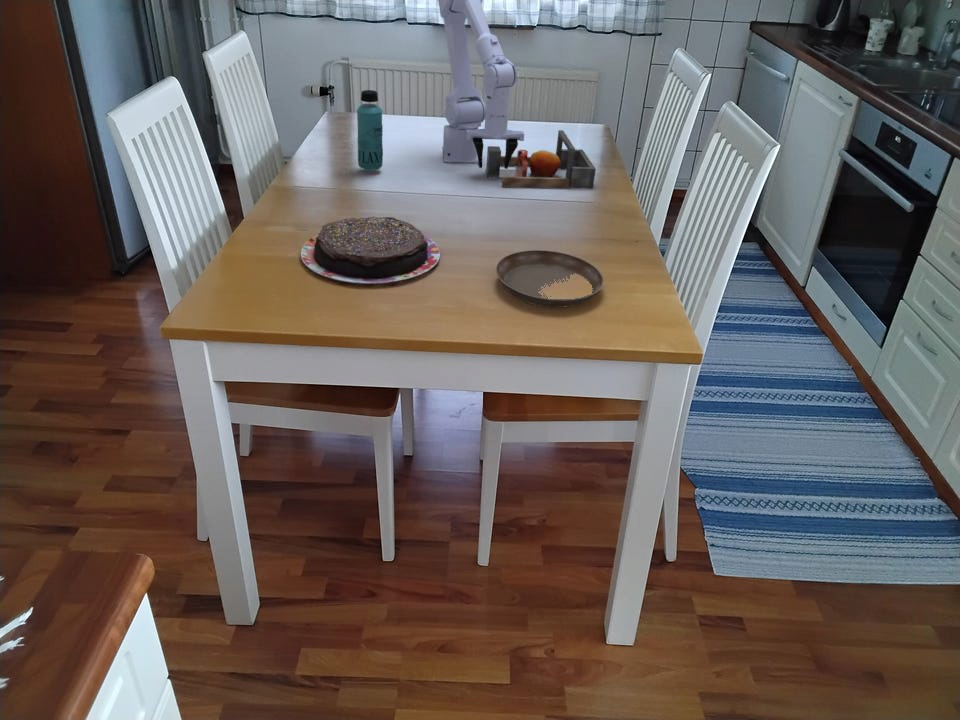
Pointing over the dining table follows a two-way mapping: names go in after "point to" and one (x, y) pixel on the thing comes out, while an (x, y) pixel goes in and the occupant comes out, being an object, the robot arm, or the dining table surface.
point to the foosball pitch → (571, 159)
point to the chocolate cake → (370, 251)
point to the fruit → (544, 164)
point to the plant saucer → (544, 275)
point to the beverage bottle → (369, 132)
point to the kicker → (494, 164)
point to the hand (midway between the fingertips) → (493, 167)
